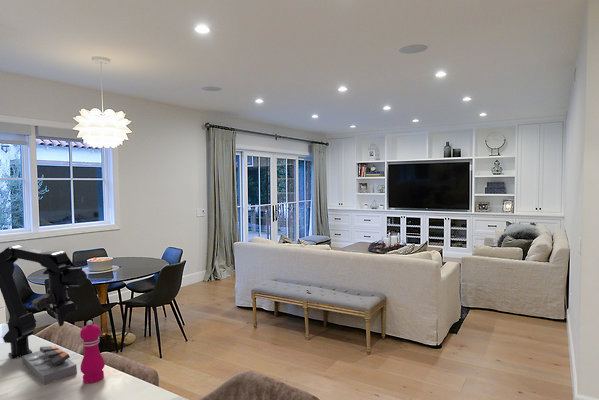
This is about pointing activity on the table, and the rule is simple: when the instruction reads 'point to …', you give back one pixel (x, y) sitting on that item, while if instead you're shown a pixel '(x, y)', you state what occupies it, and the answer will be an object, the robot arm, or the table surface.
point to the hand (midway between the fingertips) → (60, 325)
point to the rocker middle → (53, 353)
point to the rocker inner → (48, 349)
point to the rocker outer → (59, 358)
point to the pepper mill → (91, 354)
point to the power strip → (47, 367)
